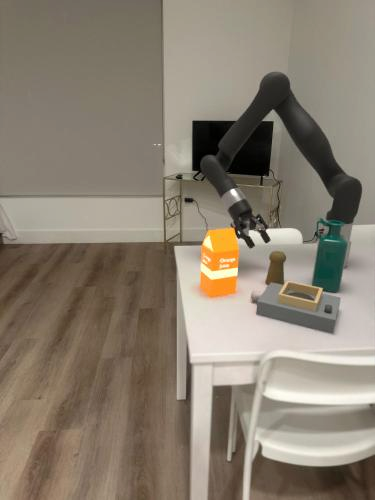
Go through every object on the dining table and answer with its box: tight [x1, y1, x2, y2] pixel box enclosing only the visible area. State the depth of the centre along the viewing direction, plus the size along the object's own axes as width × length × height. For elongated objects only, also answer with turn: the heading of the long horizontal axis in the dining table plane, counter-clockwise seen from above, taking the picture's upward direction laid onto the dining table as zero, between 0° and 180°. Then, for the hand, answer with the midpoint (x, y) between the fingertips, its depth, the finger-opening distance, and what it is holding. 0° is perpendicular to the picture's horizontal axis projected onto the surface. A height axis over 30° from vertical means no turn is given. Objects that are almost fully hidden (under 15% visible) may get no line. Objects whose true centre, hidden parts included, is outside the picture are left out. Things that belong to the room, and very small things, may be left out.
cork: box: [264, 250, 287, 287], centre depth 117 cm, size 6×6×11 cm
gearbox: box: [250, 280, 342, 335], centre depth 101 cm, size 24×14×6 cm, turn 63°
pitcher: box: [311, 217, 348, 293], centre depth 114 cm, size 10×8×22 cm
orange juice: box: [199, 227, 240, 299], centre depth 109 cm, size 8×9×20 cm
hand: (260, 244), depth 119 cm, fingers open, 8 cm apart
